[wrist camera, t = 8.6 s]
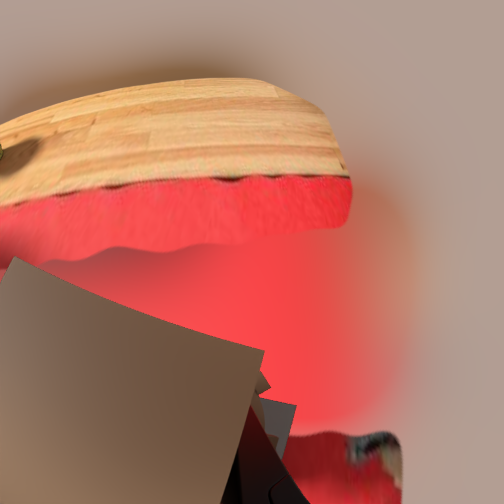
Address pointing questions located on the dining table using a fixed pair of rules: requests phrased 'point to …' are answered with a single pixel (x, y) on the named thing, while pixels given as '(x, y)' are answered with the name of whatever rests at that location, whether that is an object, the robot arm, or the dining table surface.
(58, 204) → the dining table surface
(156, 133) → the dining table surface
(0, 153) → the plant pot
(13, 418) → the walnut gear
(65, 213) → the dining table surface
